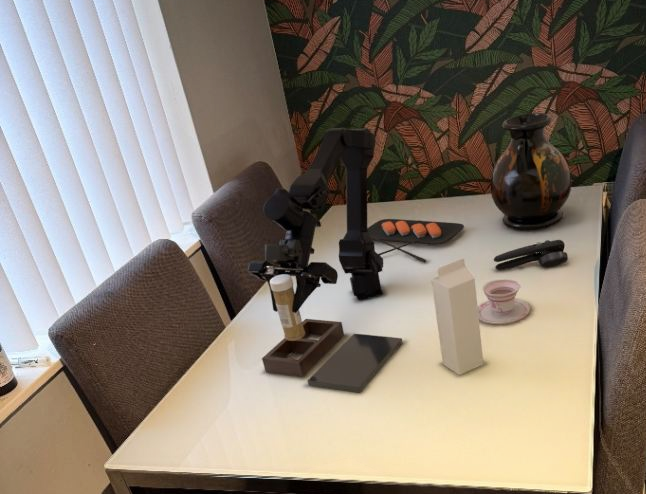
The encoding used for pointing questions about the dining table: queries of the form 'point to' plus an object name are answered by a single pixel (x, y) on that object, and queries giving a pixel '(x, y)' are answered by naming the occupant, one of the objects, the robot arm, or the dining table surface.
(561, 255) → the can opener
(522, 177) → the dark ceramic vase
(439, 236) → the sushi plate
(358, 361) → the slate board
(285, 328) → the sprinkles bottle
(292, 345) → the spice rack
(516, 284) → the teacup
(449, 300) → the milk
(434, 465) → the dining table surface
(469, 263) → the dining table surface
